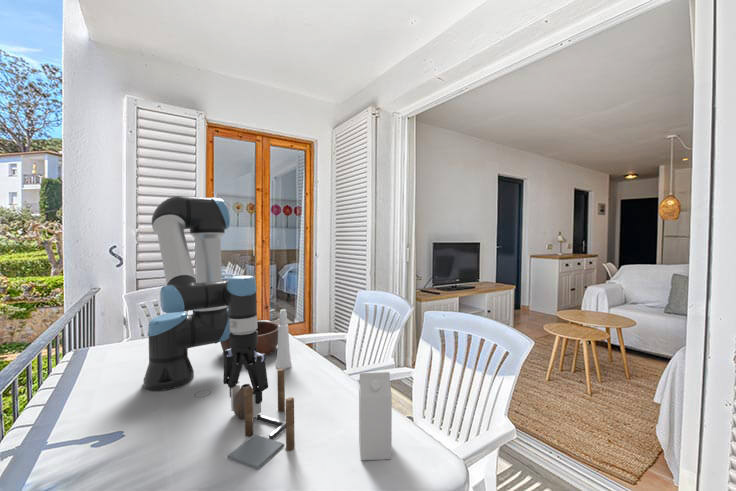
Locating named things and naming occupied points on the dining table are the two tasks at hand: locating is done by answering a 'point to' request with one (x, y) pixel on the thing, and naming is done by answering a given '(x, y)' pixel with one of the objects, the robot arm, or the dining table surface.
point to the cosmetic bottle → (283, 342)
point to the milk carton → (375, 416)
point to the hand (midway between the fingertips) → (246, 411)
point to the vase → (240, 402)
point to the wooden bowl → (262, 338)
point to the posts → (281, 407)
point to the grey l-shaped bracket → (274, 422)
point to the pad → (255, 451)
